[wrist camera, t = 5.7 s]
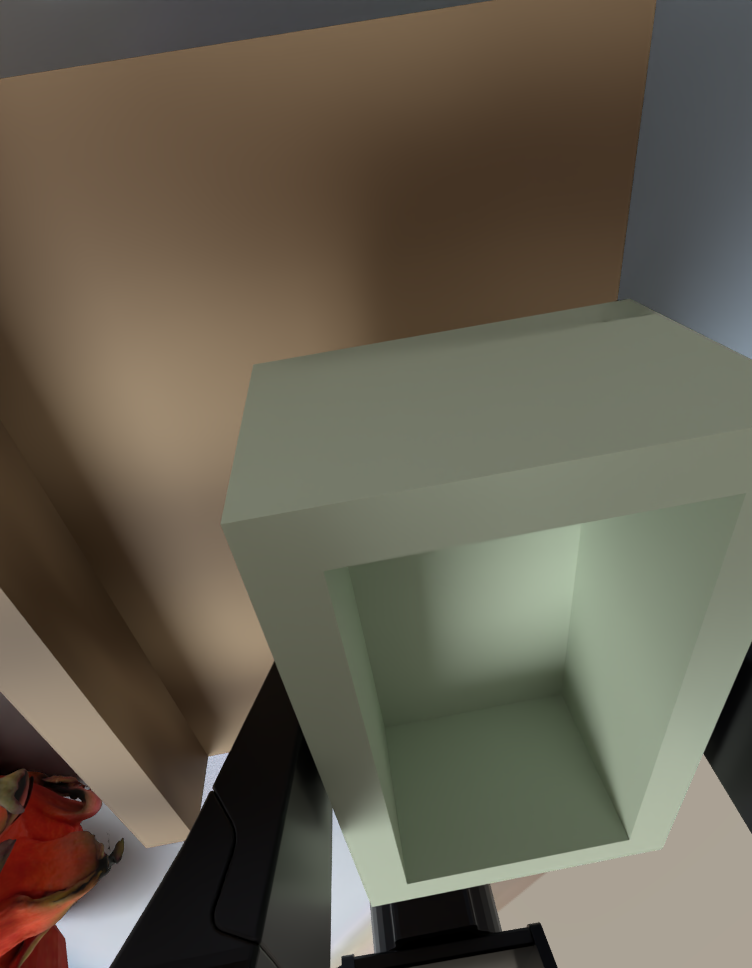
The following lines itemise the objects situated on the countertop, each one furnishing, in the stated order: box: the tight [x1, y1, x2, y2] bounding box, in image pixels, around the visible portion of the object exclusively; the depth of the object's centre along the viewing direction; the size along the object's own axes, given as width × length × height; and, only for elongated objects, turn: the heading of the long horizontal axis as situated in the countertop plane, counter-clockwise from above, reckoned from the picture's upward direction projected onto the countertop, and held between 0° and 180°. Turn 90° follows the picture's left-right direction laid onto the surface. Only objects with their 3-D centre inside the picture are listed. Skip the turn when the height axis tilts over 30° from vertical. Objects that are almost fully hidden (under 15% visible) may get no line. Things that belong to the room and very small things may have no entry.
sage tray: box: [221, 299, 752, 907], centre depth 9 cm, size 10×6×4 cm, turn 8°
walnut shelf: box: [0, 0, 656, 848], centre depth 13 cm, size 18×14×6 cm
